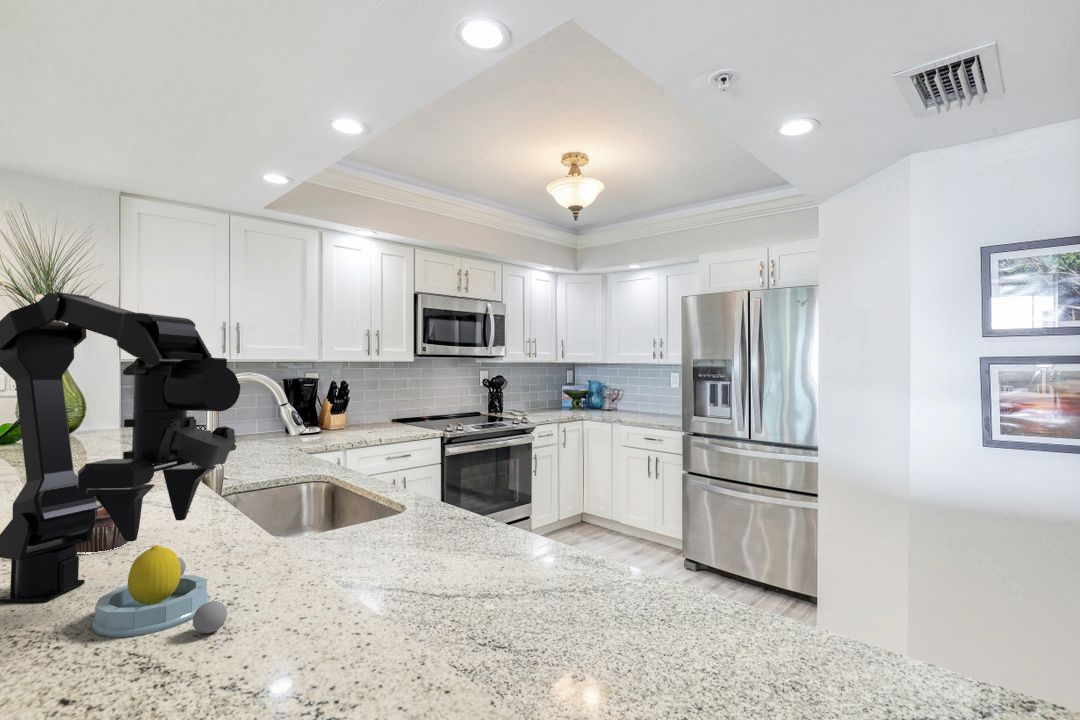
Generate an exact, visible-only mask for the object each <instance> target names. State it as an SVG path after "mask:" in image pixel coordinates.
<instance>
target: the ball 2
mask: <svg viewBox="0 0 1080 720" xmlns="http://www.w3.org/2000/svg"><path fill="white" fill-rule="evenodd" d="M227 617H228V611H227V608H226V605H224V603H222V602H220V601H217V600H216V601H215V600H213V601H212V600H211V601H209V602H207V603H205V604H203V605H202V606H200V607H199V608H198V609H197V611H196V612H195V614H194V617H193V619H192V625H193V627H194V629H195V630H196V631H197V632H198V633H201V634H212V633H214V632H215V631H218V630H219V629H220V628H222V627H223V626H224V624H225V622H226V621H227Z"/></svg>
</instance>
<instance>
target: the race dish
mask: <svg viewBox="0 0 1080 720" xmlns="http://www.w3.org/2000/svg"><path fill="white" fill-rule="evenodd" d="M207 584H208V579H207V578H205V577H202V576H198V575H195V574H183V575H181V577H180V581H179V584H178V586H177V588H176V590H175V591H174V592H173V594H172V595H171V596H169V597H168V598H167V599H165V600H163V601H162V602H161V603H160V604H154V605H149V606H148V605H146V604H141V603H138V602H136V601H135V600H134V599H133V598H132V597H131V595H130V593H129V590H128V584H126V585H122V586H120V587H117V588H115V589H114V590H111V591H110V592H108V593H106V594H104V595H102V596H100V597H99V599H98V600H97V602H96V604H95V605H94V618H93V620H92V630H93V632H94V633H95V634H96V635H98V636H101V637H106V638H130V637H136V636H144V635H149V634H152V633H157V632H160V631H165V630H168V629H170V628H174V627H176V626H180V625H182V624H184V623H186V622H188V621H191V620H193V617H194V614H195V612H196V611H197V609H198V608H199V607H200V606H202V605H203V604H205V603H207V602H210V597H209V594H208V593H207V586H208V585H207Z"/></svg>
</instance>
